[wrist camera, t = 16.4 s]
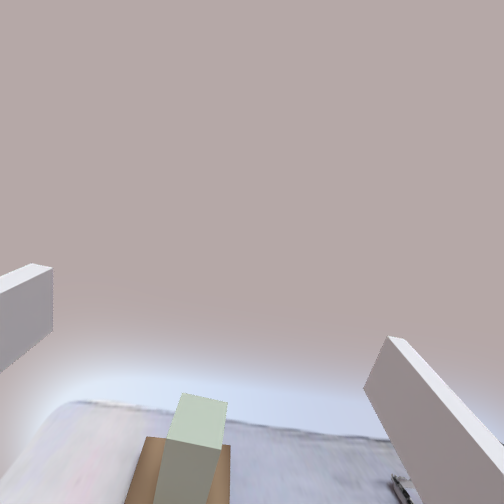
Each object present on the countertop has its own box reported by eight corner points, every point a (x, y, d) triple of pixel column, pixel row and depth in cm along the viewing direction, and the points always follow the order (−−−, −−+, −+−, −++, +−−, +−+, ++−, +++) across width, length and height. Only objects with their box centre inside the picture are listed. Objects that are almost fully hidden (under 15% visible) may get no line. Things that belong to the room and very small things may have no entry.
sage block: (208, 472, 31) (227, 402, 28) (198, 527, 26) (221, 449, 23) (167, 464, 31) (182, 392, 28) (150, 518, 26) (166, 438, 23)
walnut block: (224, 465, 36) (230, 445, 34) (220, 589, 25) (228, 565, 24) (143, 458, 34) (146, 436, 33) (102, 585, 24) (105, 560, 23)
